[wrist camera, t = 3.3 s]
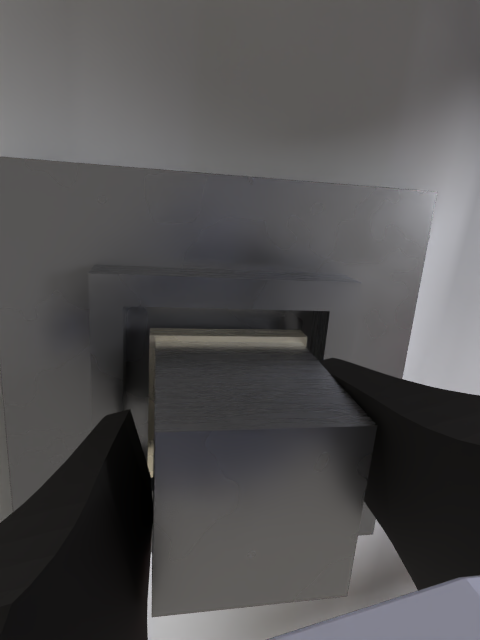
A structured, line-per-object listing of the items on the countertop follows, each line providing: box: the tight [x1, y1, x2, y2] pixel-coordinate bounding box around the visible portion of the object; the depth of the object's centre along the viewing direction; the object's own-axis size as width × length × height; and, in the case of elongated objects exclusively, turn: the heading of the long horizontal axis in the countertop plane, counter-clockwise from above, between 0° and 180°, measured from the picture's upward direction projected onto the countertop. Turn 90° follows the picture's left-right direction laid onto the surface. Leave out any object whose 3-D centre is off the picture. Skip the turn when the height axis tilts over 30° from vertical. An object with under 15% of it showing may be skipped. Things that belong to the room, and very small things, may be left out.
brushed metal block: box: [148, 328, 377, 617], centre depth 10 cm, size 4×4×5 cm
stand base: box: [0, 157, 437, 552], centre depth 12 cm, size 12×12×4 cm
